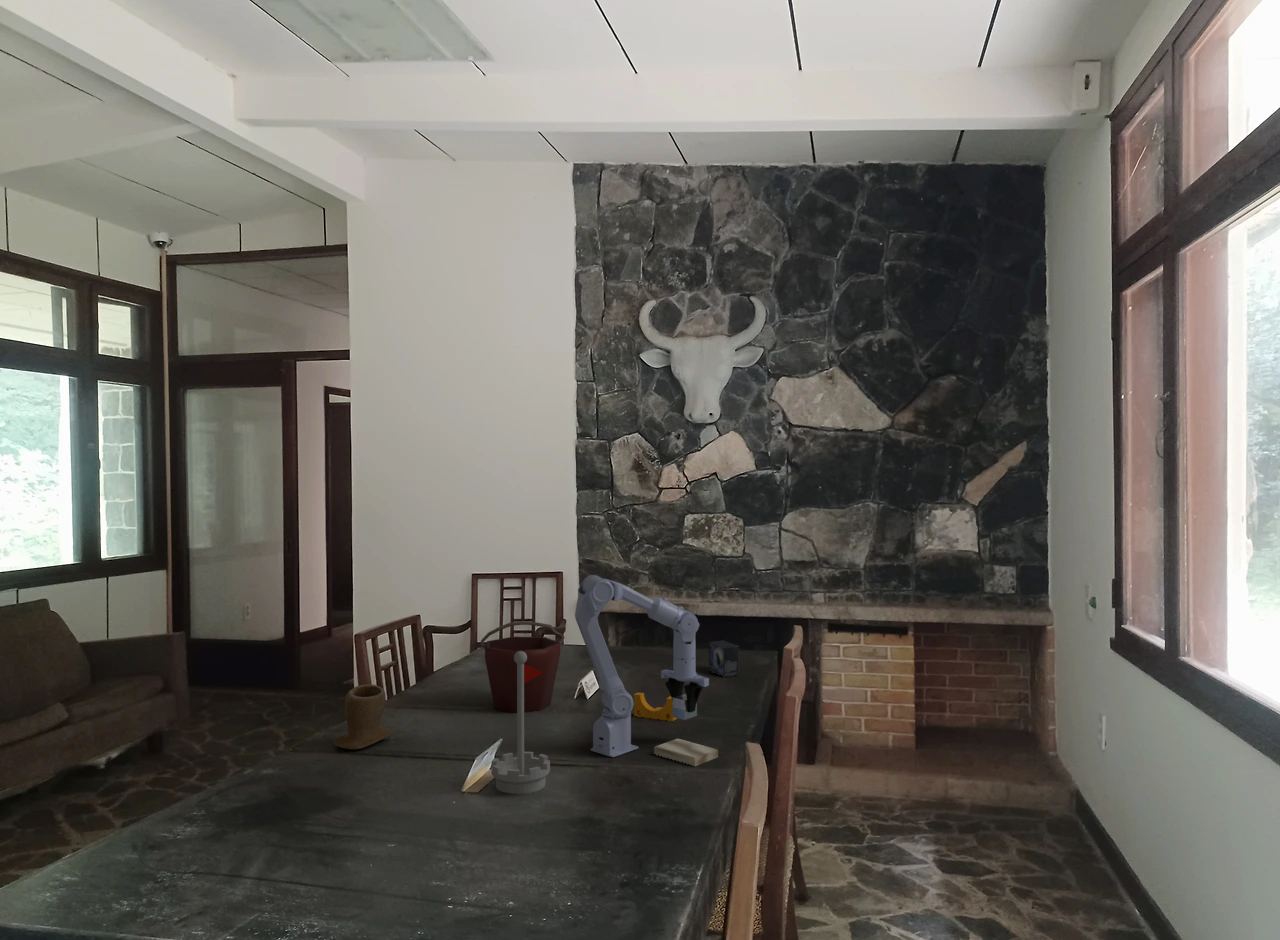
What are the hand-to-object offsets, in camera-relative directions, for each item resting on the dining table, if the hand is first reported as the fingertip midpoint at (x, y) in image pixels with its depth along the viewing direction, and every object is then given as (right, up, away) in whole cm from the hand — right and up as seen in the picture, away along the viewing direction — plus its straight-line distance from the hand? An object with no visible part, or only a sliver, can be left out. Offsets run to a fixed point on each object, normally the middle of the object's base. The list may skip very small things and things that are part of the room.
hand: (684, 709), depth 226 cm
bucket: (-47, -9, +35) cm, 59 cm away
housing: (0, -2, 0) cm, 2 cm away
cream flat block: (0, -8, -11) cm, 13 cm away
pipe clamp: (-7, -9, +23) cm, 26 cm away
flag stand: (-38, -9, -30) cm, 49 cm away
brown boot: (-82, -9, -1) cm, 82 cm away
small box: (+17, -8, +75) cm, 78 cm away
